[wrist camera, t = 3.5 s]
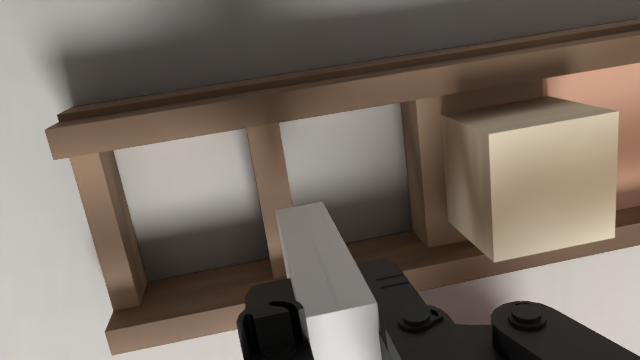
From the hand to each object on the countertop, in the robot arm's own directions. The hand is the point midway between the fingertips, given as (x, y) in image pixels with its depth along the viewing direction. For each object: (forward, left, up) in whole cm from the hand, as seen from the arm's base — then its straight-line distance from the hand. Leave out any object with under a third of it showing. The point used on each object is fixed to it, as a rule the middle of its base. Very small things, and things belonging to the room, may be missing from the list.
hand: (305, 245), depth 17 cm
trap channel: (0, +6, -6) cm, 8 cm away
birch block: (0, +9, -4) cm, 9 cm away
